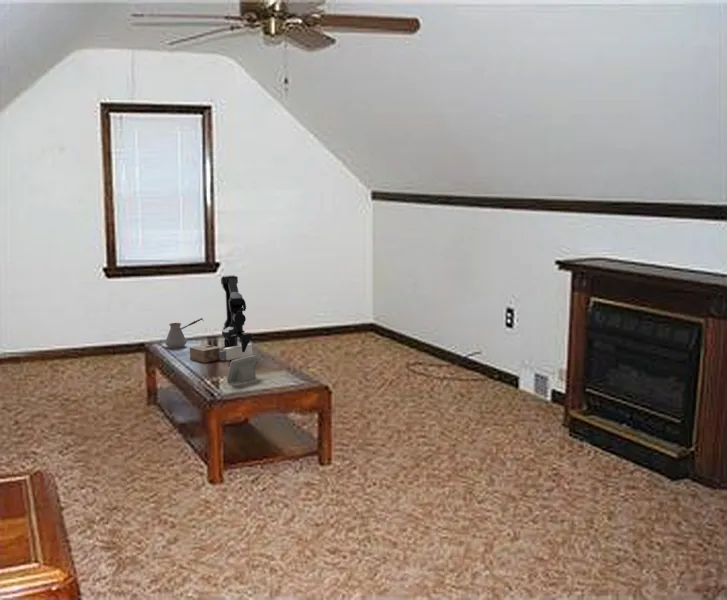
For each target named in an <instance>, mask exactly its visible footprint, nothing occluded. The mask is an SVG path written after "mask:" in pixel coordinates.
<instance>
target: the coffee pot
mask: <svg viewBox="0 0 727 600" xmlns="http://www.w3.org/2000/svg"><path fill="white" fill-rule="evenodd" d="M200 321H202V322H204V319H203V317H201V318H198V319H197V320H194V321H192V322H191V323H188V324H186V325H184V326H183V327H181V325H182V323H181V322H172V323H168V324H169V327H170V329H169V331H168V334H167V336H166V339H165V342H164V343H165V345H166V346H167V347H168V348H169V347H170V348H169V349H181V347H182V348H184V346H186V344H187V339H186V337H185V334H184V333H183V330H184V329H185V328H187V327H189V326H192V325H194V324H196V323H198V322H200Z"/></svg>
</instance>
